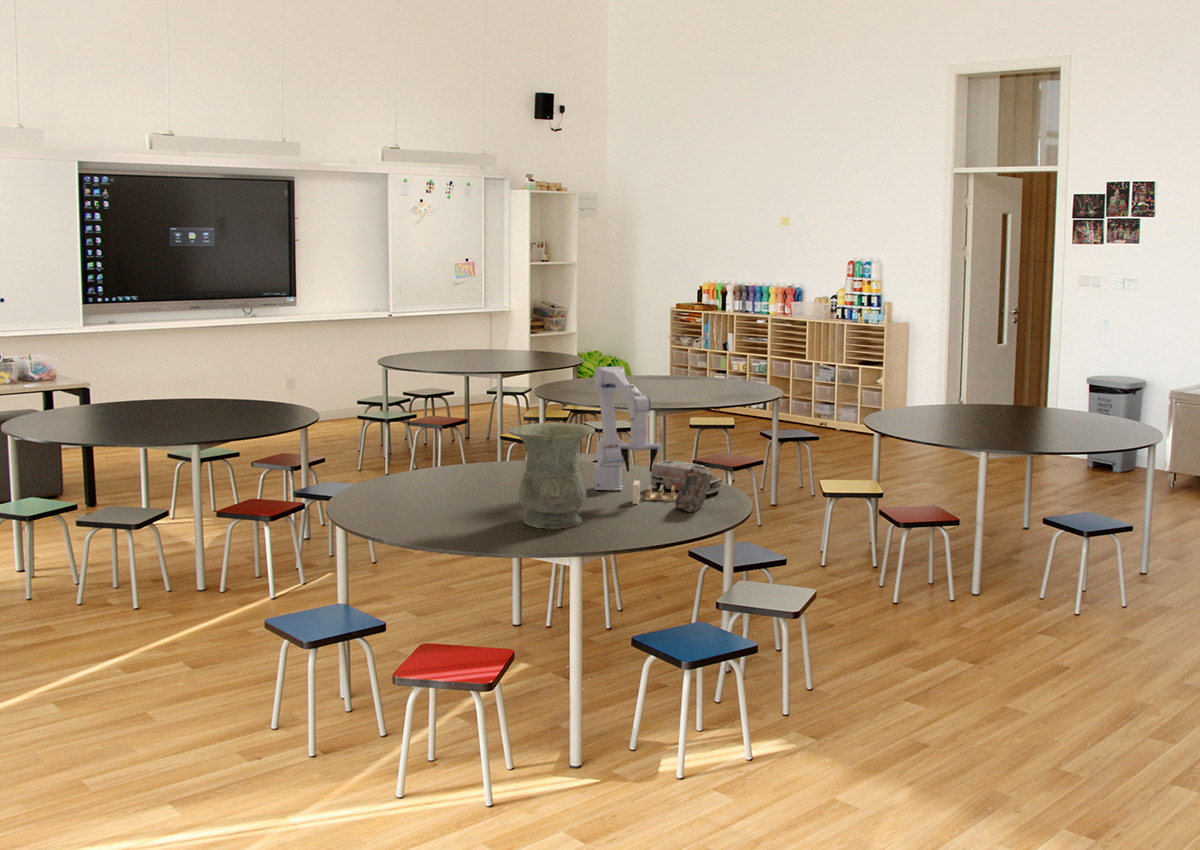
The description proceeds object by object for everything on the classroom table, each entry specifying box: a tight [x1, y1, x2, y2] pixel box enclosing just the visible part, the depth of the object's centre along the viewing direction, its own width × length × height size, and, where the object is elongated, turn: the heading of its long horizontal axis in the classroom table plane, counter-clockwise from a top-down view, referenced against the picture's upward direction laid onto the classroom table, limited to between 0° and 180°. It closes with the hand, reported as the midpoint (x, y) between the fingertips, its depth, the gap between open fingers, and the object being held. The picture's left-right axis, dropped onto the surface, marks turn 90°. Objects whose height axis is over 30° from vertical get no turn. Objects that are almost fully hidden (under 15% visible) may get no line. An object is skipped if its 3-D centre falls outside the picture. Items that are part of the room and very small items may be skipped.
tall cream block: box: [632, 480, 641, 505], centre depth 381 cm, size 2×7×7 cm, turn 173°
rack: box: [644, 483, 678, 502], centre depth 388 cm, size 11×9×4 cm
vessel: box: [508, 422, 596, 530], centre depth 352 cm, size 27×27×30 cm
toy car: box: [649, 459, 722, 495], centre depth 399 cm, size 11×25×10 cm, turn 52°
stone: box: [674, 464, 714, 513], centre depth 372 cm, size 13×13×15 cm
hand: (639, 471), depth 380 cm, fingers open, 7 cm apart
